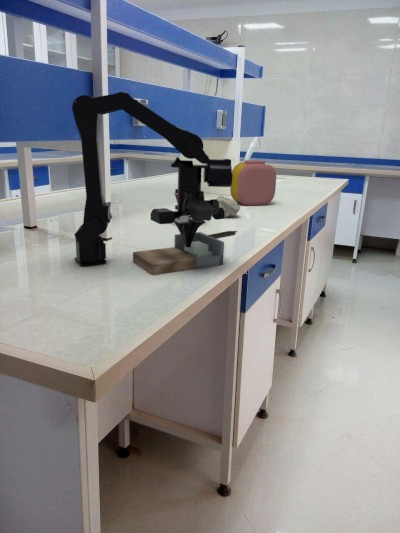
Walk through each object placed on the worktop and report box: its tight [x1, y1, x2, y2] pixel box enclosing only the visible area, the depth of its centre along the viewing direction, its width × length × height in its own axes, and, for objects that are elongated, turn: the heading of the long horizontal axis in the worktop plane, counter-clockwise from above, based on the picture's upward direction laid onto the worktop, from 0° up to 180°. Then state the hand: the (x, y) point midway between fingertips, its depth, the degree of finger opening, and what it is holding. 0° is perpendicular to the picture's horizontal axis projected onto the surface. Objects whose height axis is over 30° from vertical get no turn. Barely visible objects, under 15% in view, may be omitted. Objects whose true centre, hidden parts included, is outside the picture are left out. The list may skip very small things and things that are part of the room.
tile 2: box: [189, 251, 212, 258], centre depth 118 cm, size 4×4×2 cm
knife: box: [208, 230, 238, 239], centre depth 143 cm, size 25×6×1 cm, turn 127°
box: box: [173, 231, 225, 269], centre depth 118 cm, size 8×12×6 cm, turn 30°
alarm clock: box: [229, 159, 277, 206], centre depth 203 cm, size 18×11×19 cm, turn 108°
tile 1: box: [184, 241, 208, 255], centre depth 118 cm, size 4×4×2 cm
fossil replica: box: [216, 195, 241, 218], centre depth 176 cm, size 12×8×10 cm
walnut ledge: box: [132, 246, 197, 276], centre depth 114 cm, size 12×12×2 cm
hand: (187, 247), depth 116 cm, fingers closed
